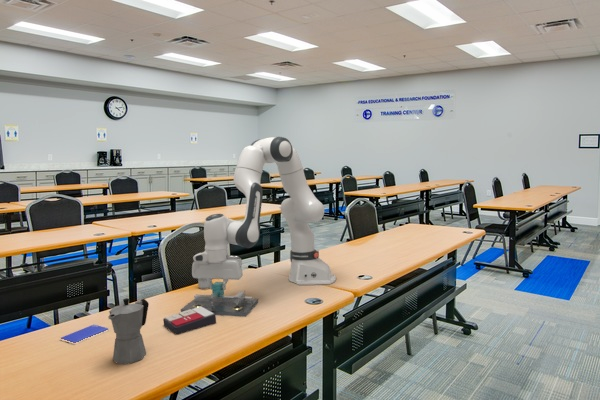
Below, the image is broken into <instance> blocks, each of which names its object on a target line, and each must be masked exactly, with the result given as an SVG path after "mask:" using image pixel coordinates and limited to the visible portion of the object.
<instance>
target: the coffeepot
mask: <svg viewBox="0 0 600 400" xmlns="http://www.w3.org/2000/svg"><path fill="white" fill-rule="evenodd" d="M122 302H123V304H119V305H116V306H113V307H112V308H111V309H110V310H109V312H108V313H109V315H108V317H107V318H108V320H111V324H112V328H113V333H115V338H114V346H113V355H112V360H113V361H114V363H116V362H117V363H116V364H119V365H129V364H128V363H130V364H133V363H137V362H140V361H141V360H143V359H145V357H144V356H146V355H147V350H146V346H145V343H144V339H143V334H142V333H141V329H142V327H143V326H145V325H146V321H147V316H148V311H149V302H148V301H147V300H146V298H142V299H140V300H137V301H135V302H134V303H129V302H130V298H123V299H122Z"/></svg>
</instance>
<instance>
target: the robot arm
mask: <svg viewBox="0 0 600 400" xmlns="http://www.w3.org/2000/svg"><path fill="white" fill-rule="evenodd" d="M265 164H275V165H276V166H277V170H278V174H279V178H280V182H281V184H282V188H283V190H284V192H285V193H287V194H288V196H289V198H285V199H283V201H281V203H280V213H281V215H282V216H283V217H284V219H285V221H286V223H287V226H288V231H289V234H290V250H289V251H290V252H289V261H290V269H289V270H290V271H289V275H288V281H290V282H291V283H295V284H296V285H298V286H299V285H300V286H304V285H305V286H309V285H315V286H316V285H331V284H334V283H335V282H336V279H337V277H336V275H335V274H334V273H332V270H331V267H330V264H328V263H327V262H326V261H324V260H323V259H321V258H320V252H319V250H316V249H315V234H314V231H313V230H312V229H311V228H310V225H309V223H317V222H320V221H321V220H322V219H323V217H324V215H325V206H324V204H323V203H322V202H321V201H320V200H319V199H318V198H317V197H316V196H315V194H314V192H313V191H312V190H311V188H310V186H309V184H308V181H307V179H306V175H305V171H304V168H303V164H302V160H301V159H300V157H299V155H298V152H297V149H295V148H294V147H293V145H292V143H291V141H290V140H289V139H288V138H286V137H284V136H274V137H273V136H272V137H271V136H270V137H266V138H261V139H257V140H255V141H252V143H251V144H250V145H247V146H245V147H243V148H242V151H241V152H240V155H239V157H238V160H237V162H236V165H235V170H234V173H233V184H234V185H235V187H236V189H238V190H239V191H240V192H241V193H243V195H244V196H245V198H246V206H245V214H244V219H243V220H242V221H241V220H240V221H239V220H234V219H231V218H229V217H227V216H225V215H224V214H223V213H215V214H210V215H209V216H207V217H206V218H205V219H204V225H203V237H204V238H203V240H204V241H205V245H204V251H200V252H198V253H196V254H195V255H193V257H192V259H193V262H192V266H191V275H192V278H193V279H198V278H200V279H207V282H208V284H209V285H210V288H209V290H211V291H212V284H214V283H213V280H223V281H222V282H224V284H223V285H221V290H224V291H225V290H227V283H229V280H230V281H231V280H235V281H236V280H238V281H239V280H241V278H242V277H243V276H244V275H243V266H242V265H243V262H242V261H243V260H242V258H241V257H240V256H238V255H229V252H228V244H232V245H236V246H240V247H242V248H246V249H250V248H252V247H254V246H255V245H256V244H257V243H258V241H259V239H260V235H261V234H260V231H261V230H260V228H261V227H260V220H261V211H262V205H263V204H262V203H263V187H262V186H261V179H262V174H263V171H264V170H263V169H264V166H265ZM211 280H212V281H211Z"/></svg>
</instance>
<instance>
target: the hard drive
mask: <svg viewBox="0 0 600 400" xmlns="http://www.w3.org/2000/svg"><path fill="white" fill-rule="evenodd" d="M106 330H108V331H109V327H105V326H101V325H97V324H92V325H89V326H87V327H84V328H82V329H79V330H77V331H74V332H71V333H69V334H66V335H64V336H62V337H60V338H61V339H64V340H67V341H70V342H73V343H76V342H79V341H81V340H83V339H85V338H88V337H91V336H93V335H96V334H99V333H101V332H104V331H106Z"/></svg>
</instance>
